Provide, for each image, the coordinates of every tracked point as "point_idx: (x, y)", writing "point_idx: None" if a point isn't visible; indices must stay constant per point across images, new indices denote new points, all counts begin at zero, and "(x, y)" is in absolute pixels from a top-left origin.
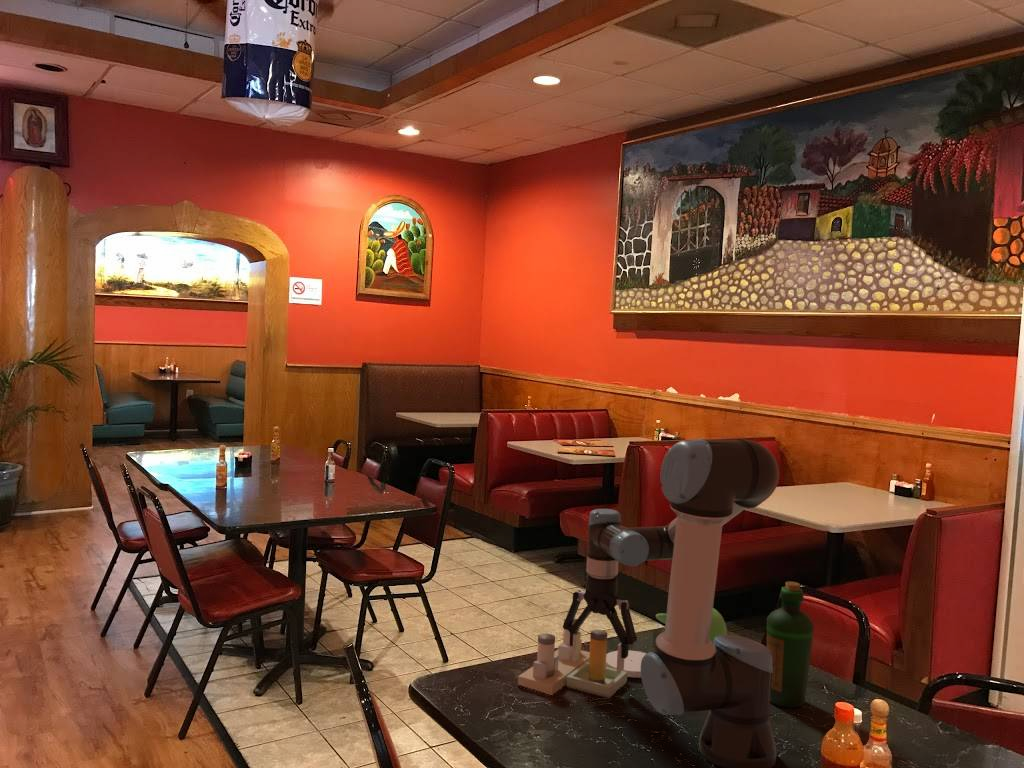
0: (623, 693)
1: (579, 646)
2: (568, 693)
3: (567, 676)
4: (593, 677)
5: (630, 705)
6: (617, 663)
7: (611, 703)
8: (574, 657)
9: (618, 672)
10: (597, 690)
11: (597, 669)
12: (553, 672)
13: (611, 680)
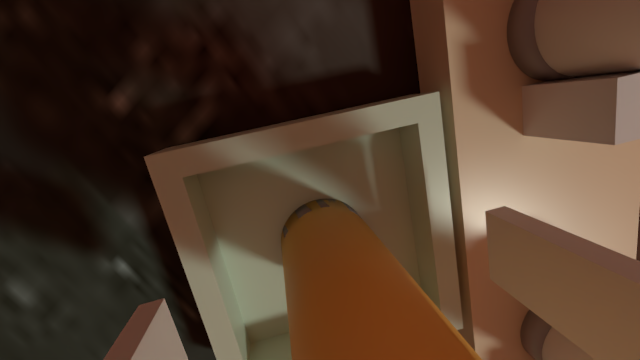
0: (160, 253)
1: (566, 327)
2: (356, 34)
3: (435, 96)
4: (321, 211)
5: (20, 163)
6: (129, 350)
7: (110, 104)
8: (510, 219)
9: (148, 303)
10: (233, 134)
11: (308, 242)
12: (521, 50)
13: (282, 305)
